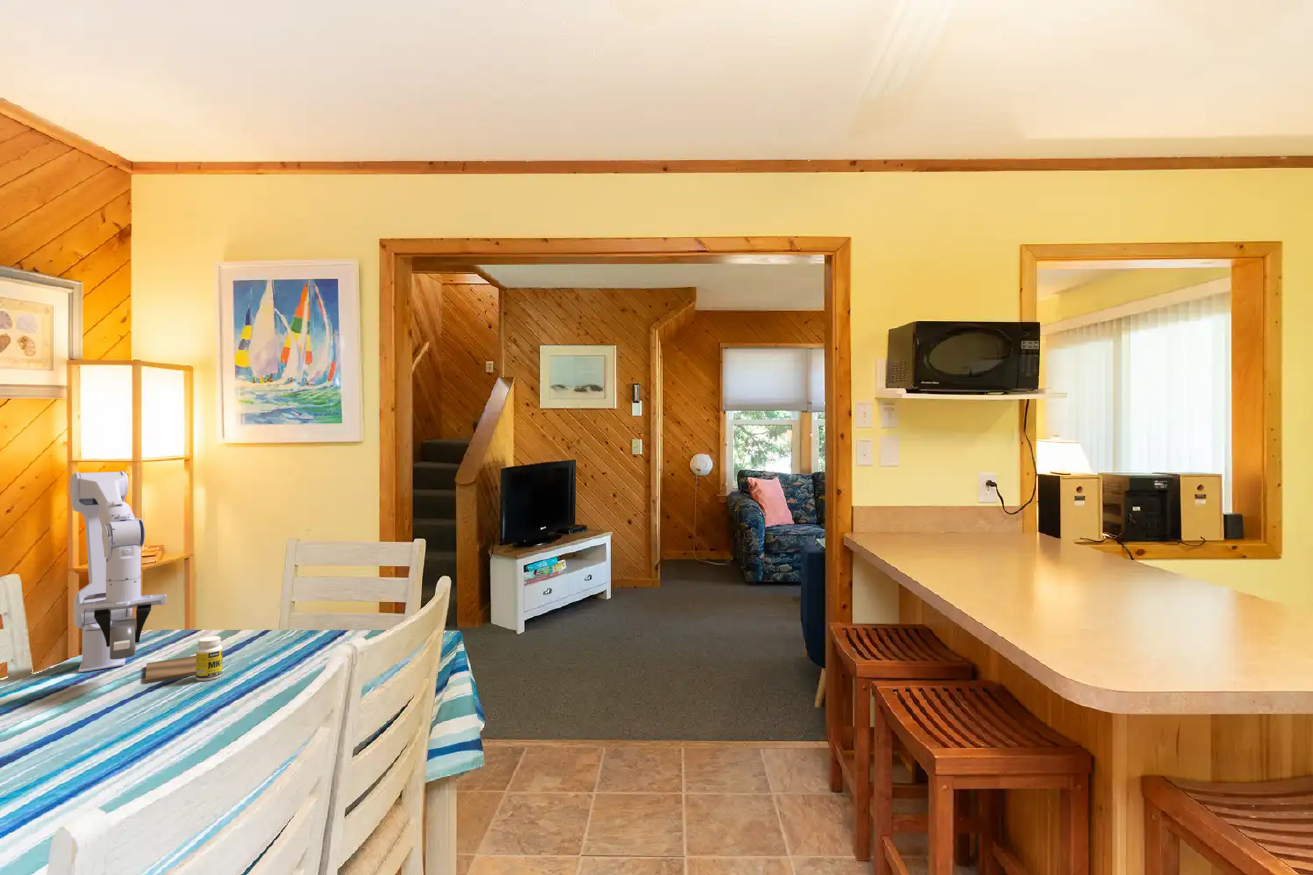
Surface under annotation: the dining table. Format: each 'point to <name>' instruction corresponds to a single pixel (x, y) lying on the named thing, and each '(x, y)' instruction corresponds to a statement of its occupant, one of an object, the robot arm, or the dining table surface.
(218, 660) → the supplement bottle
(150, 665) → the walnut board
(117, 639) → the grey rounded piece
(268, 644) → the dining table surface
